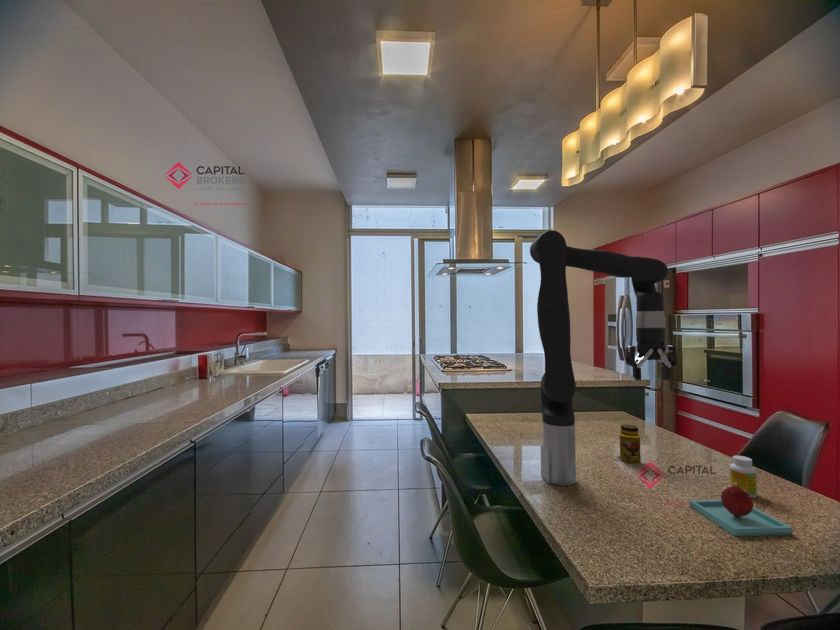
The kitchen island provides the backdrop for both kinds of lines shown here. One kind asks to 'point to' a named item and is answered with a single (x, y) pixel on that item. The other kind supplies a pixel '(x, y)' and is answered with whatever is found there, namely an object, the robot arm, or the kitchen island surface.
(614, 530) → the kitchen island surface
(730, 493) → the dark red rounded piece
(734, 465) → the supplement bottle
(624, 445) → the condiment
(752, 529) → the tray
